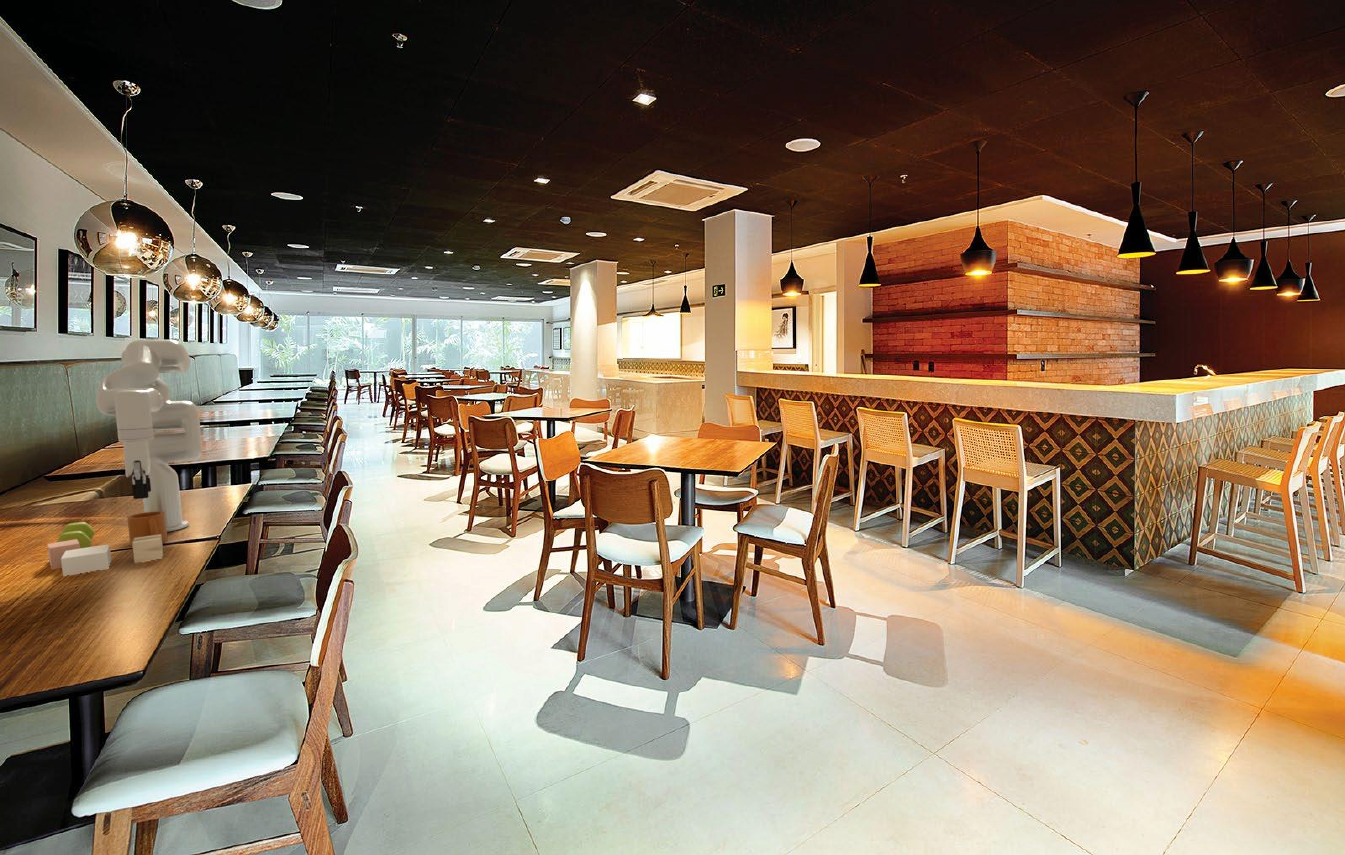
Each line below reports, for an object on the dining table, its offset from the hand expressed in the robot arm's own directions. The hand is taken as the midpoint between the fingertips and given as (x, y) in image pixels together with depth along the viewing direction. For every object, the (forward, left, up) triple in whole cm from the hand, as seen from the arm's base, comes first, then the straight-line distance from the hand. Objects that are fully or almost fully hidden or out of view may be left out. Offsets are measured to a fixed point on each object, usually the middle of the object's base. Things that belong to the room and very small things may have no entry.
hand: (142, 495), depth 178 cm
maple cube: (0, 0, -19) cm, 19 cm away
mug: (-18, -1, -19) cm, 26 cm away
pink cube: (-8, -18, -19) cm, 28 cm away
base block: (0, -13, -19) cm, 23 cm away
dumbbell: (-23, -18, -19) cm, 35 cm away
